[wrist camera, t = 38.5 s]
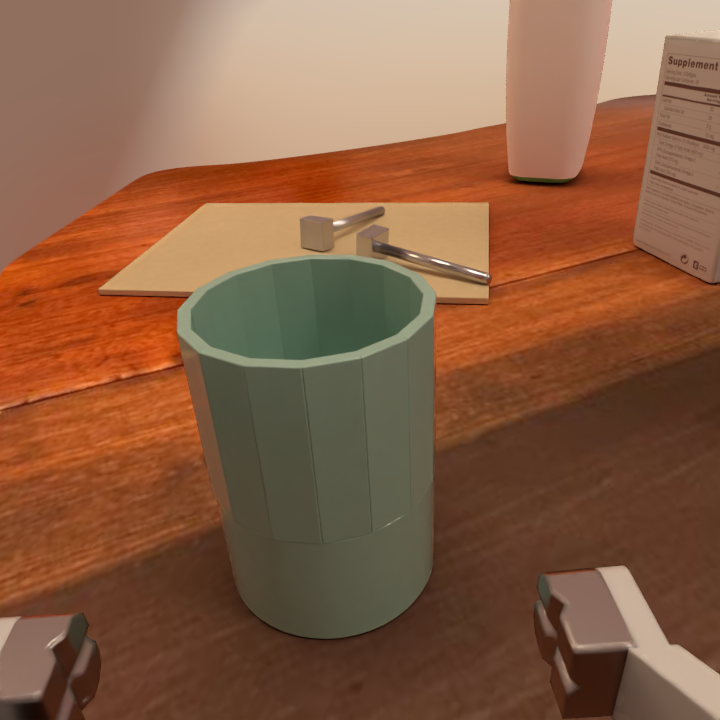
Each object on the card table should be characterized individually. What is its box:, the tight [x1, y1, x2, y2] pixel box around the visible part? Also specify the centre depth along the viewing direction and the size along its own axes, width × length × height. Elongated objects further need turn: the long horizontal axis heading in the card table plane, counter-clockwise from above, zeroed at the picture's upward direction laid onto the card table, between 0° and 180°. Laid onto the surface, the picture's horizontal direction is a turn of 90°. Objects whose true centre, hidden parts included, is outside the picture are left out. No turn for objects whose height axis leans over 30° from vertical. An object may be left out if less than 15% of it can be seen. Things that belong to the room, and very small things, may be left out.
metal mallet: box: [356, 225, 492, 284], centre depth 39 cm, size 2×2×9 cm
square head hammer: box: [300, 206, 385, 252], centre depth 46 cm, size 2×2×9 cm
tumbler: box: [177, 255, 437, 639], centre depth 19 cm, size 6×6×9 cm
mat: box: [98, 203, 489, 304], centre depth 46 cm, size 24×18×1 cm
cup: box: [506, 0, 612, 183], centre depth 54 cm, size 7×7×15 cm
